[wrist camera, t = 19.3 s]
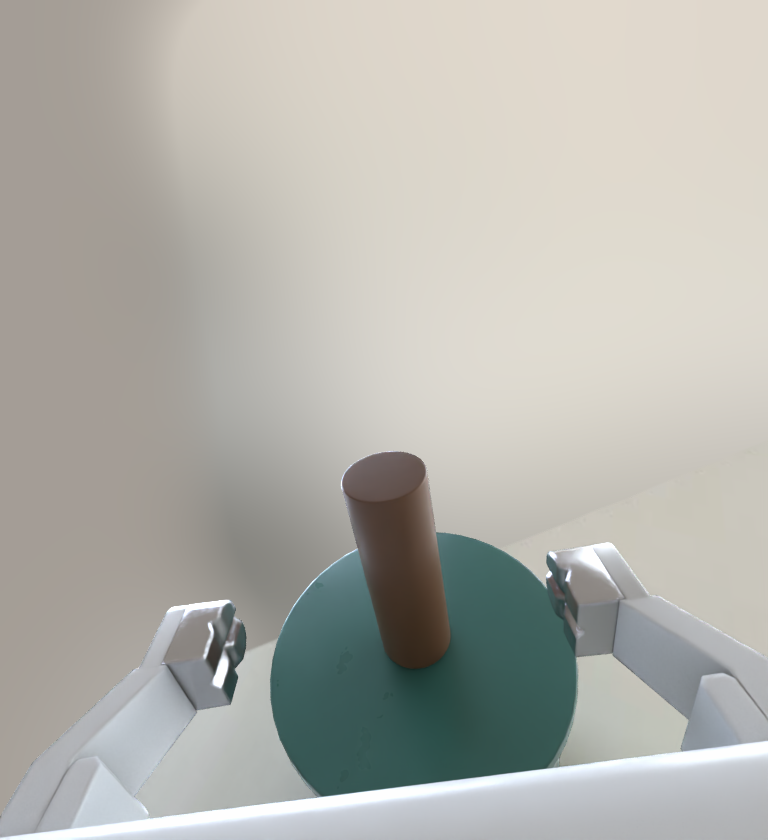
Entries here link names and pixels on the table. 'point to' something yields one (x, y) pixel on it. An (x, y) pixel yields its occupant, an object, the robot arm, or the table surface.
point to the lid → (418, 652)
